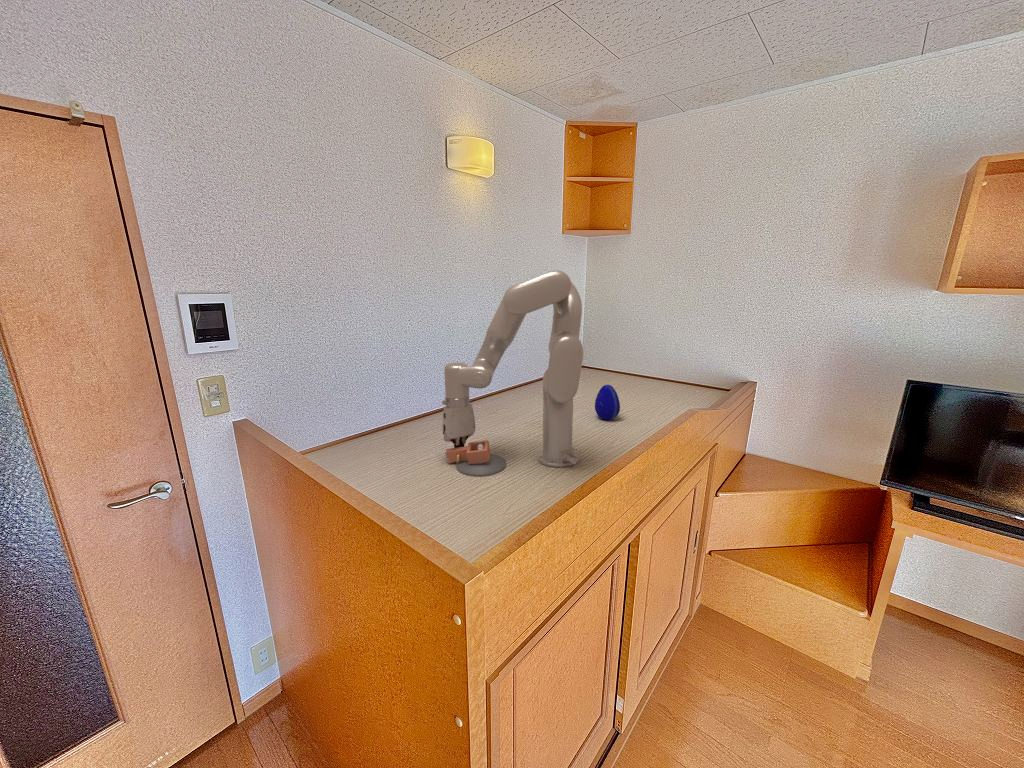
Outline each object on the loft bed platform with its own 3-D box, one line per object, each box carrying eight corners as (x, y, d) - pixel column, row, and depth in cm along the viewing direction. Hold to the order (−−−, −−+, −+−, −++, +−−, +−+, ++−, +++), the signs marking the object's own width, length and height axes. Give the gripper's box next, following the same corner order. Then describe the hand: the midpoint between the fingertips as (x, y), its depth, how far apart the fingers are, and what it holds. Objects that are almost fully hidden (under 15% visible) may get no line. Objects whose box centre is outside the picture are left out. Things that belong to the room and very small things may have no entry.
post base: (516, 466, 130) (515, 445, 129) (473, 481, 121) (472, 458, 119) (487, 451, 143) (487, 431, 141) (446, 463, 133) (445, 442, 132)
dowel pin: (461, 463, 131) (460, 454, 131) (457, 464, 131) (457, 455, 130) (459, 462, 132) (458, 453, 132) (455, 463, 132) (455, 454, 131)
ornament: (623, 421, 172) (625, 386, 168) (604, 424, 169) (606, 388, 165) (607, 413, 182) (609, 380, 178) (589, 416, 179) (591, 382, 175)
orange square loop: (490, 450, 136) (488, 440, 134) (489, 461, 129) (486, 450, 128) (450, 455, 137) (447, 445, 135) (447, 466, 130) (444, 456, 129)
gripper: (441, 408, 124) (444, 464, 128) (483, 400, 133) (484, 453, 137) (430, 402, 130) (433, 456, 134) (471, 395, 138) (473, 446, 143)
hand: (459, 454), depth 136 cm, fingers closed
